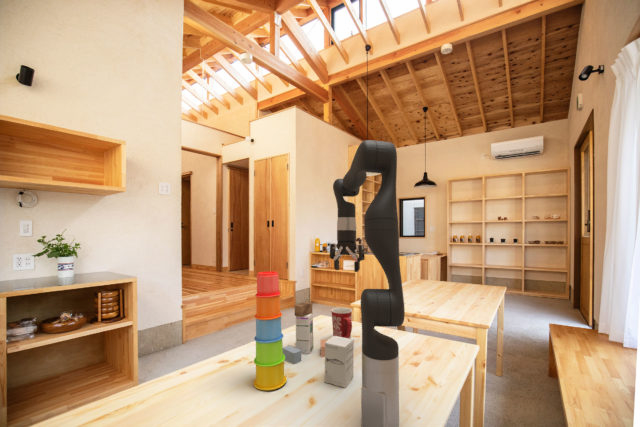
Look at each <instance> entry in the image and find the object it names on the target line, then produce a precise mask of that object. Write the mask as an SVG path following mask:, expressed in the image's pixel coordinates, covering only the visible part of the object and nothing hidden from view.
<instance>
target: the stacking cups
mask: <svg viewBox="0 0 640 427" xmlns="http://www.w3.org/2000/svg"><path fill="white" fill-rule="evenodd" d="M280 296H281V292H280V279H279V273H278V271H276V270H275V271H260V272H257V275H256V293H255V297H256V298H255V300H256V301H255V302H256V306H255V307H256V310H255V311H256V312H255V313H256V314H255V315H254V318H255V336H254V338H253V340H254V341H255V357H254V359H253V364H254V365H255V379H254V381H253V387H254V388H256V389H258V390H259V391H266V392H267V391H275V390H279V389H280V388H282V387H283V386H285V385H286V383H287V379H288V378H287V376H286V375H285V361H286V360H285V355H284V354H283V347H284V346H283V338H284V334H283V333H282V332H283V330H282V316H283V313H282V312H281V301H280V300H281V297H280Z"/></svg>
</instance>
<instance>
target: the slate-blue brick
mask: <svg viewBox="0 0 640 427" xmlns="http://www.w3.org/2000/svg"><path fill="white" fill-rule="evenodd" d="M283 354H284V355H285V360H284V361H286V362H288V363H291V364H292V365H297V364H298V363H301V362H302V357H303V356H302V354H303V353H302V350H299V349H297V348H296V347H294V346H291V345H290V344H288V345H285V346H283Z"/></svg>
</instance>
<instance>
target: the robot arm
mask: <svg viewBox="0 0 640 427" xmlns="http://www.w3.org/2000/svg"><path fill="white" fill-rule="evenodd" d="M397 153H398V152H397V148H396V145H395V144H394V143H392V142H390V141H383V140H374V139H373V140H371V139H369V140H368V139H366V140H363V141H361V143H360V144H359V145H358V147H357V149H356V151H355V153H354V155H353V159H352V162H351V165H350V168H349V170H348V171H347V172H346V173H345V175H344V176H343V178H337V179H335V180H334V182H333V184H332V190H333V194H334V197H335V200H336V206H337V221H336V241H337V243H330V245H329V259H331V260H333V269H334V270H335V271H339V270H340V259H341V257H342V256H350V257H351V258H352V259H353V260H354V264H353V266H354V269H353V270H354V272H355V273H358V272H359V271H360V268H361V264H360V263H361V262H362V261H364V260H365V259H366V258H365V244H361V243H360V244H358V243H357V221H356V220H357V219H356V204H355V203H353V202H349V201H347V200H345V198H344V197H349V198H354V197H357V196H358V195H359V194H360V190H361V187H362V186H363V185H364V184H365V182H366V181H367V176H368V175H367V173H371V174H373V173H375V174H381V182H380V187H379V189H378V192H377V193H376V195H375V196H374V198H373V199H372V201H371V202H370V204H369V205H368V208H367V209H366V211H365V214H364V220H363V222H364V223H363V228H364V229H363V230H364V241H365V243H366V244H367V247H368V248H369V250H370V251H371V253H372V254H373V255H374V257H375V259H376V260H377V262H378V263H379V264H380V266H381V268H382V270H383V272H384V274H385V277H386V279H387V283H388V288H365V289H363V290H362V292H361V293H360V294H361V295H360V316H361V317H360V318H361V319H360V320H361V394H360V397H361V398H360V399H361V402H360V403H361V413H360V414H361V427H400V374H399V373H400V370H399V367H400V365H399V364H400V363H399V362H400V361H399V358H400V357H399V354H400V353H399V352H400V351H399V350H400V349H399V348H400V347H399V343H398V342H397V341H396V340H395V339H394V338H392V337H390V336H388V335H387V334H383V333H382V332H380V331H378V330H377V329H375V328H376V327H386V328H387V327H389V328H390V327H394V328H397V327H398V328H399V327H401V326H402V325H403V323H404V321H405V317H406V316H405V315H406V314H405V300H404V299H405V298H404V290H403V283H402V282H403V281H402V276H401V275H402V273H401V272H402V271H401V261H400V235H399V233H400V232H399V228H400V227H399V216H398V215H399V214H398V205H397V203H398V202H397V200H398V199H397V172H398V170H397V169H398V155H397ZM336 249H337V252H336ZM356 249H357V251H358V253H357V251H356Z"/></svg>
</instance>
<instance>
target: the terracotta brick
mask: <svg viewBox="0 0 640 427" xmlns="http://www.w3.org/2000/svg"><path fill="white" fill-rule="evenodd" d="M328 340H329V339H320V358H325V342H326V341H328Z"/></svg>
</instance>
